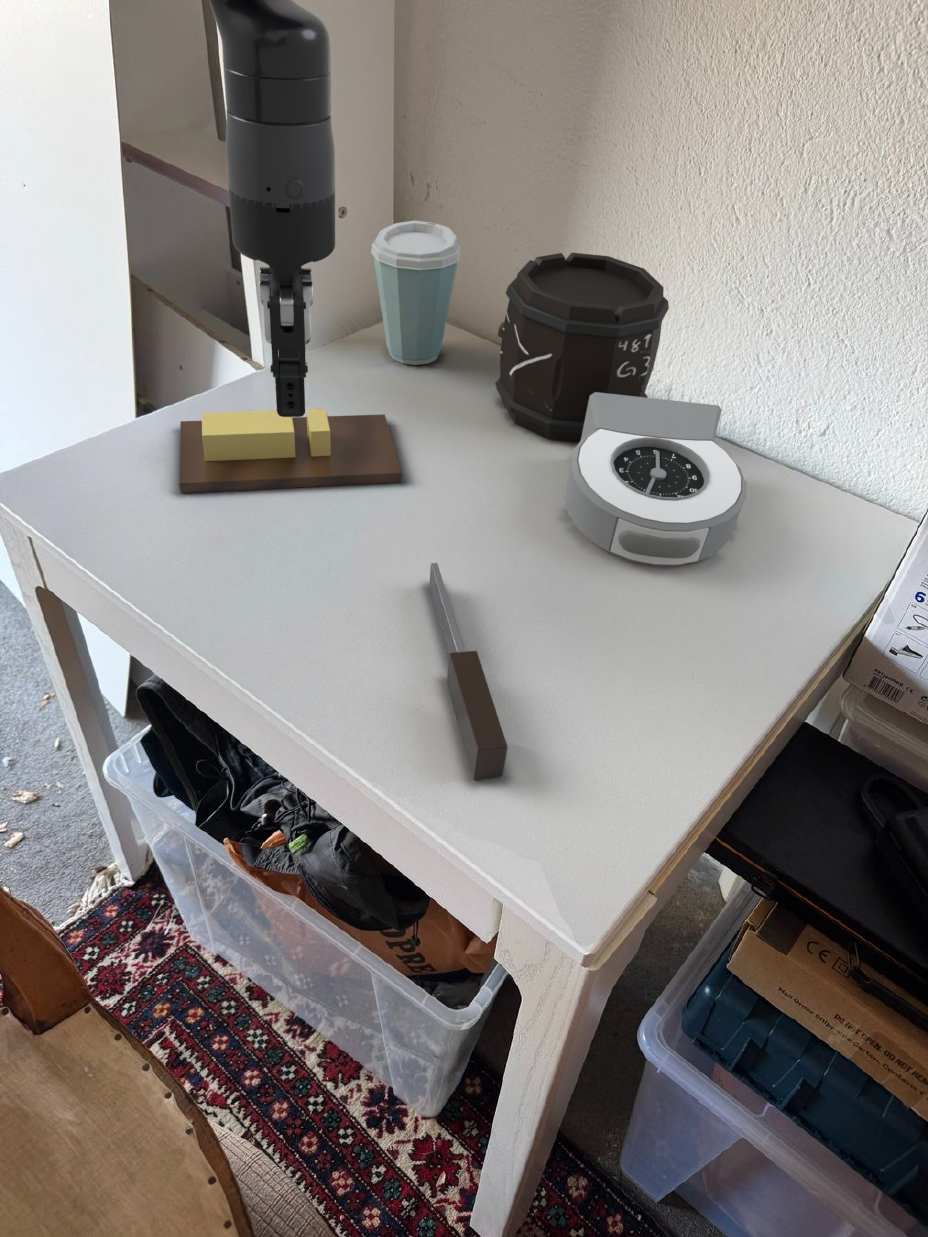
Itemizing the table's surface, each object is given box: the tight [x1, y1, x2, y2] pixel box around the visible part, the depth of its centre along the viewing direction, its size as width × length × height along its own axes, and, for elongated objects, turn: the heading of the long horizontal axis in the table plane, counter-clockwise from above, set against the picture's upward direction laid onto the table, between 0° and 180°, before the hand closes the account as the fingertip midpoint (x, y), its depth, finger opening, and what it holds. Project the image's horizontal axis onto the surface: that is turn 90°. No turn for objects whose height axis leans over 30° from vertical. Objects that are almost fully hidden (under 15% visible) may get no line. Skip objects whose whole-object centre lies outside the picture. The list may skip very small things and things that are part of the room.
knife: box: [428, 562, 508, 781], centre depth 74 cm, size 22×2×3 cm, turn 12°
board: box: [178, 413, 403, 494], centre depth 97 cm, size 22×12×1 cm, turn 102°
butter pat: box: [306, 408, 331, 457], centre depth 96 cm, size 2×4×3 cm, turn 12°
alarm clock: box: [564, 392, 747, 567], centre depth 93 cm, size 17×9×19 cm
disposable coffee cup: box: [370, 220, 462, 366], centre depth 113 cm, size 11×11×15 cm
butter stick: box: [201, 409, 295, 461], centre depth 95 cm, size 9×4×3 cm, turn 102°
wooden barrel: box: [495, 252, 670, 444], centre depth 105 cm, size 18×18×16 cm
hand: (290, 389), depth 77 cm, fingers open, 8 cm apart
